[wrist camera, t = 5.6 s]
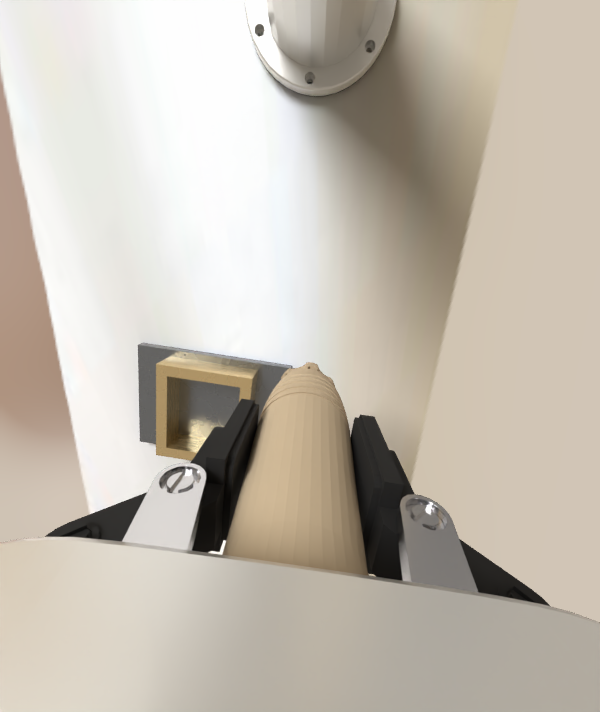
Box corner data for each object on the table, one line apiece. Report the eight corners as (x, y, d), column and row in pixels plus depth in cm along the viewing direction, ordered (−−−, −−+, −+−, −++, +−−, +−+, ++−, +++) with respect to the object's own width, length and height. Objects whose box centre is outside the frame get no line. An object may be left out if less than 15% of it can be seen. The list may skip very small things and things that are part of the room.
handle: (346, 429, 18) (472, 1023, 4) (250, 407, 18) (-8, 927, 4) (366, 360, 17) (693, 866, 2) (263, 337, 17) (-58, 709, 2)
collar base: (143, 342, 33) (120, 351, 29) (291, 365, 33) (288, 377, 29) (144, 437, 37) (124, 455, 33) (278, 457, 37) (274, 479, 33)
